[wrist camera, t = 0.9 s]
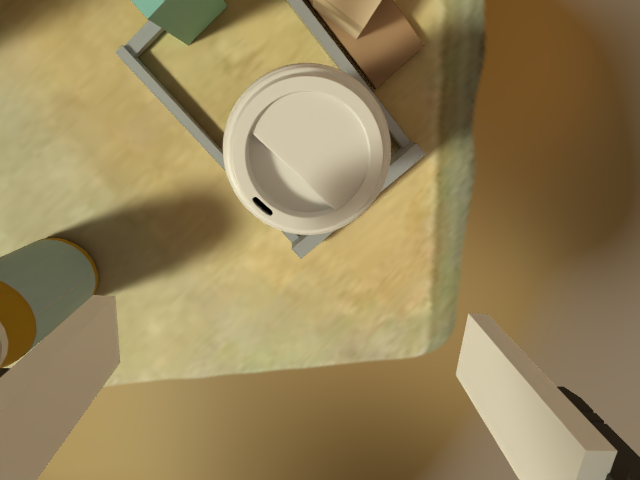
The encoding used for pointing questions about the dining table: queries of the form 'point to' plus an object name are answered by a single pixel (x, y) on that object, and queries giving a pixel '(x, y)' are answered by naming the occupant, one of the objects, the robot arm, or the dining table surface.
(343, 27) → the maple block
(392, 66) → the wooden l-shaped block
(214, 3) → the grey rectangular frame
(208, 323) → the dining table surface
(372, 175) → the coffee cup
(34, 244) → the bottle
